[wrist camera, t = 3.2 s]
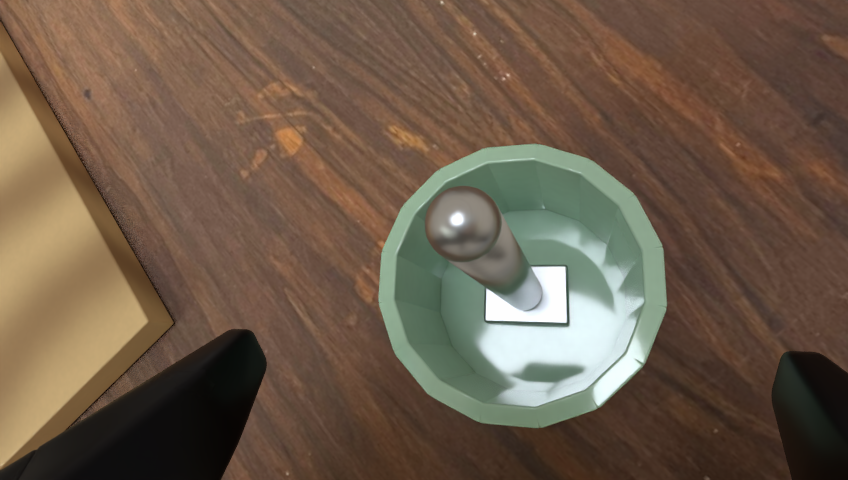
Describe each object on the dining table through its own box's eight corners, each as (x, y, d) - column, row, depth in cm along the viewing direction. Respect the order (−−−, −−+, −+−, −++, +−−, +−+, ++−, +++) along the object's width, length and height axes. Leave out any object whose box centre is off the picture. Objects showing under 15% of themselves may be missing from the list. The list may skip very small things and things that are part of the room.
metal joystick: (568, 268, 17) (553, 141, 7) (569, 326, 16) (555, 283, 6) (489, 269, 18) (368, 156, 8) (488, 323, 17) (359, 282, 7)
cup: (644, 412, 16) (676, 441, 11) (429, 396, 18) (370, 413, 13) (633, 197, 17) (656, 132, 12) (436, 206, 20) (386, 154, 14)
